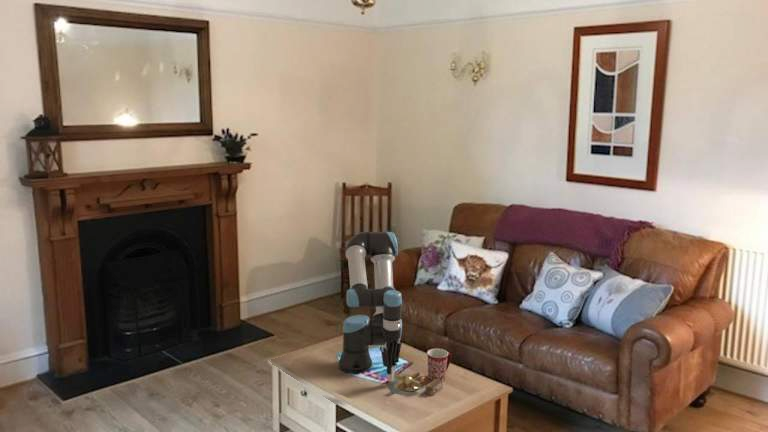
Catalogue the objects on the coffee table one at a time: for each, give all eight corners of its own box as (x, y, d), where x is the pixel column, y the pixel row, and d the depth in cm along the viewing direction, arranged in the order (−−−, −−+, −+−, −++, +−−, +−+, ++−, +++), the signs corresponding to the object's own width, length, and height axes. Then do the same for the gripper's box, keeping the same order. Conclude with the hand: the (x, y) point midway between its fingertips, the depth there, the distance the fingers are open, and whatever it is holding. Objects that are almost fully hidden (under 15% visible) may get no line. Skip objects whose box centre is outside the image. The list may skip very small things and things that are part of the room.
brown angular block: (425, 396, 264) (425, 385, 263) (436, 389, 270) (436, 378, 269) (434, 400, 261) (434, 388, 260) (444, 392, 267) (445, 381, 266)
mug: (436, 388, 271) (437, 359, 268) (421, 380, 278) (422, 351, 275) (457, 380, 279) (458, 351, 276) (442, 372, 286) (443, 344, 283)
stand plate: (380, 390, 268) (380, 387, 268) (402, 377, 280) (402, 374, 280) (411, 402, 258) (411, 399, 258) (433, 388, 271) (433, 385, 270)
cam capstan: (380, 387, 268) (380, 372, 266) (402, 374, 280) (403, 359, 279) (412, 399, 258) (412, 384, 256) (433, 385, 270) (434, 370, 269)
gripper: (389, 334, 257) (388, 388, 262) (408, 325, 267) (406, 377, 272) (374, 329, 262) (373, 382, 267) (394, 321, 272) (392, 372, 277)
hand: (390, 380), depth 269 cm, fingers closed
